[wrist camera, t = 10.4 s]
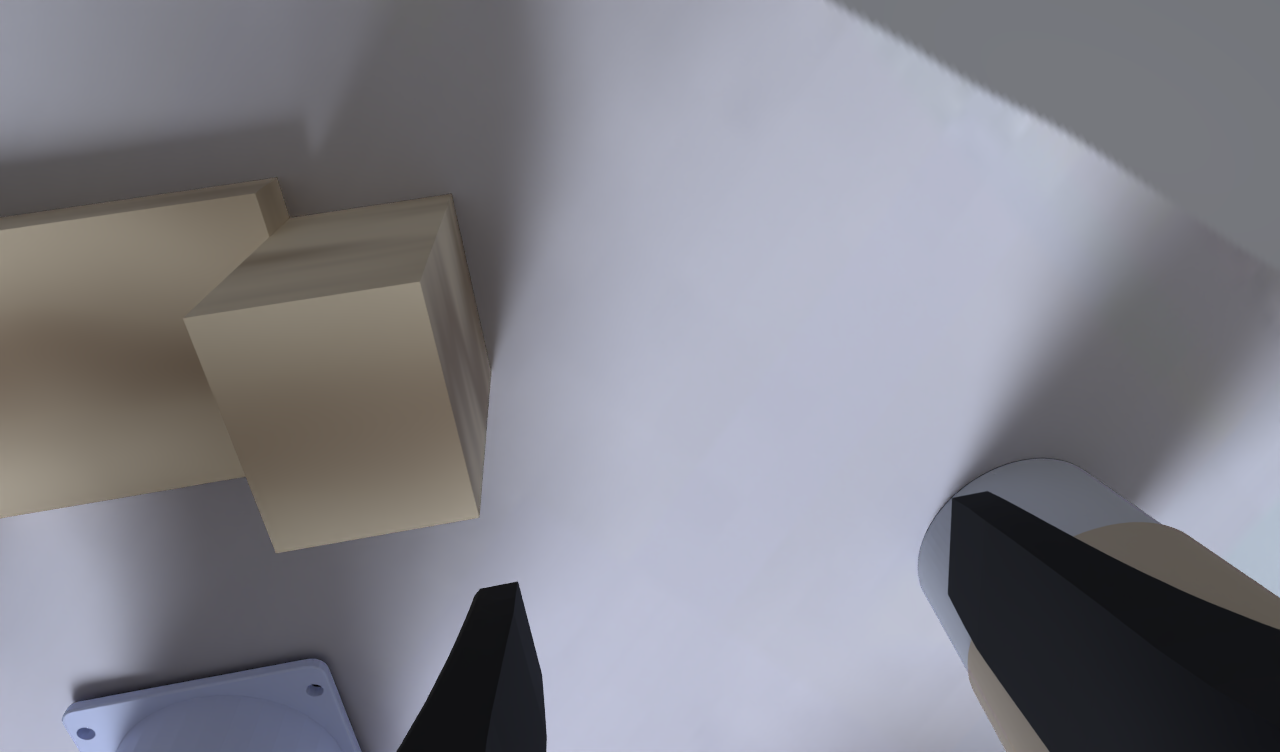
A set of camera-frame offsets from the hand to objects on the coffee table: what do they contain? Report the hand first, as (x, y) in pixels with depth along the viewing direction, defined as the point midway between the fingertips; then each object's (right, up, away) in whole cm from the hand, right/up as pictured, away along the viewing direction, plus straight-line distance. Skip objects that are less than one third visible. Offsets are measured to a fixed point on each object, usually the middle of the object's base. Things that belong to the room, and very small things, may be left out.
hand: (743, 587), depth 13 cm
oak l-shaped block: (-16, +4, +7) cm, 18 cm away
